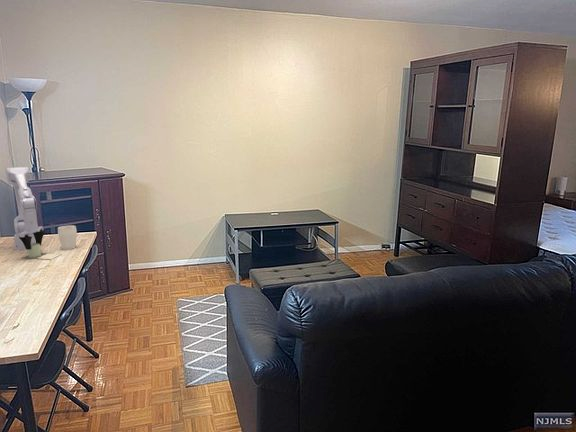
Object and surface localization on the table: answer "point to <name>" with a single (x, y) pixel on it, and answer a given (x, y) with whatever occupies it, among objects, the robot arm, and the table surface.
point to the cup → (67, 236)
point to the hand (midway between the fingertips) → (33, 247)
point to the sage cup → (34, 250)
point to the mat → (44, 256)
